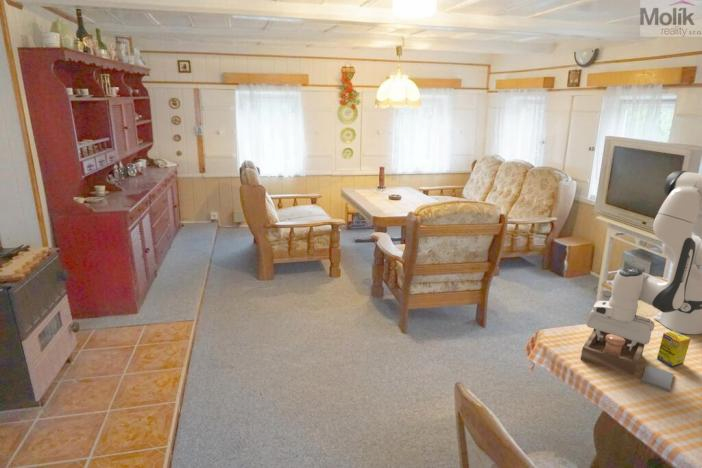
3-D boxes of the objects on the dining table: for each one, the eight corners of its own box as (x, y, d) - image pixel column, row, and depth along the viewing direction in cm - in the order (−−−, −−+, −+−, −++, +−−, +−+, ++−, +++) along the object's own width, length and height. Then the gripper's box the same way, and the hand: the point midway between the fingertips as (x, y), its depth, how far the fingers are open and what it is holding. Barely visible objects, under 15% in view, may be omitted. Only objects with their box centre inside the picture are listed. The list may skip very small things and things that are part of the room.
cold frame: (592, 339, 179) (595, 324, 177) (641, 355, 169) (645, 339, 167) (580, 359, 167) (583, 342, 165) (633, 377, 157) (637, 360, 154)
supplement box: (656, 358, 167) (662, 332, 164) (667, 355, 169) (674, 329, 166) (672, 367, 162) (679, 341, 159) (683, 364, 164) (691, 338, 161)
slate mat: (646, 367, 162) (647, 364, 162) (673, 375, 158) (673, 373, 157) (640, 381, 155) (641, 379, 154) (668, 391, 150) (669, 389, 149)
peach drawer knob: (604, 350, 172) (608, 332, 170) (622, 356, 168) (626, 338, 166) (600, 357, 168) (604, 339, 165) (618, 364, 164) (623, 345, 161)
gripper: (657, 317, 158) (648, 351, 162) (593, 299, 170) (586, 332, 174) (654, 324, 153) (645, 359, 157) (588, 305, 165) (582, 338, 170)
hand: (614, 344), depth 166 cm, fingers open, 8 cm apart
